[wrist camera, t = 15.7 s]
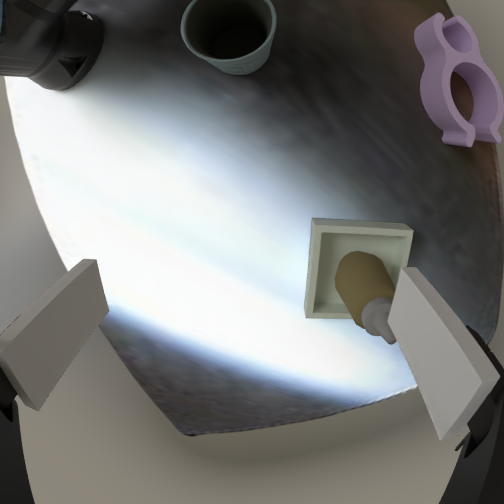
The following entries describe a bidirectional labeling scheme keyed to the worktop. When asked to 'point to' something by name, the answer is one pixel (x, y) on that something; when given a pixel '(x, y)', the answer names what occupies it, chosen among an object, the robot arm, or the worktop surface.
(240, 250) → the worktop surface
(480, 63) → the clip
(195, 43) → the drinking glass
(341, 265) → the squeeze bottle
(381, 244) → the tray
